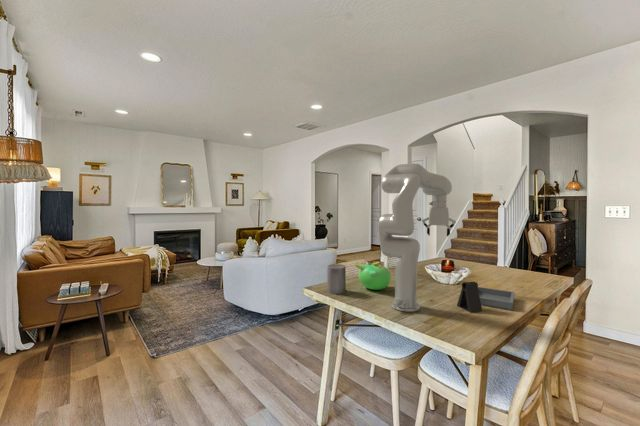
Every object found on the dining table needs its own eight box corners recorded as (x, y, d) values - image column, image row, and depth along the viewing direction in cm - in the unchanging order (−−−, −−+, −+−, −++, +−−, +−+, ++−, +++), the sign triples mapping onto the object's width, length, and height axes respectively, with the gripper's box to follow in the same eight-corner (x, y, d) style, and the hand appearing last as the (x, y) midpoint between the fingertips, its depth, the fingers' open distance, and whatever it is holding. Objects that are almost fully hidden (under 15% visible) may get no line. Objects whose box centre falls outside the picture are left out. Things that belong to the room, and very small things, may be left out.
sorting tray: (512, 310, 133) (512, 303, 133) (467, 302, 144) (467, 295, 143) (514, 299, 150) (514, 292, 150) (473, 292, 160) (474, 286, 160)
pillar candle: (336, 287, 167) (336, 260, 167) (349, 291, 160) (349, 263, 159) (323, 291, 161) (323, 263, 160) (336, 295, 154) (336, 266, 153)
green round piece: (396, 290, 164) (397, 263, 163) (375, 296, 153) (376, 267, 153) (371, 283, 178) (371, 258, 177) (350, 287, 167) (351, 261, 167)
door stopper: (482, 311, 132) (483, 284, 132) (470, 312, 131) (471, 285, 130) (467, 304, 141) (468, 279, 140) (456, 305, 139) (457, 280, 139)
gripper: (422, 204, 165) (421, 235, 166) (456, 204, 160) (456, 237, 160) (422, 204, 172) (421, 234, 173) (455, 204, 167) (454, 235, 167)
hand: (438, 235), depth 166 cm, fingers open, 9 cm apart
